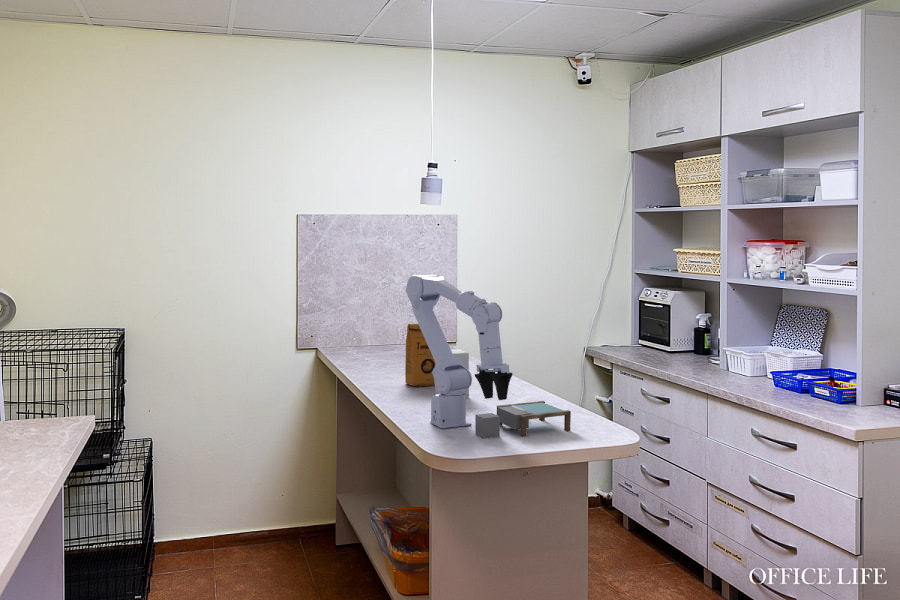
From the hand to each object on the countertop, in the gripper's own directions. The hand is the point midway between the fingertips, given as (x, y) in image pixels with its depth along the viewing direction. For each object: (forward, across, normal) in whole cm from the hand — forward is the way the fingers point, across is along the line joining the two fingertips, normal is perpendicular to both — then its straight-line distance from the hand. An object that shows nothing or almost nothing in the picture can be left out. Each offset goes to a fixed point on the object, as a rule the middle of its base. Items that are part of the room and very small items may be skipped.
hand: (495, 399), depth 212 cm
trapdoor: (+8, +3, -12) cm, 15 cm away
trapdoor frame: (+10, +4, -13) cm, 17 cm away
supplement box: (+3, +50, -11) cm, 51 cm away
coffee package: (0, +71, -10) cm, 72 cm away
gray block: (+10, +2, +3) cm, 10 cm away
